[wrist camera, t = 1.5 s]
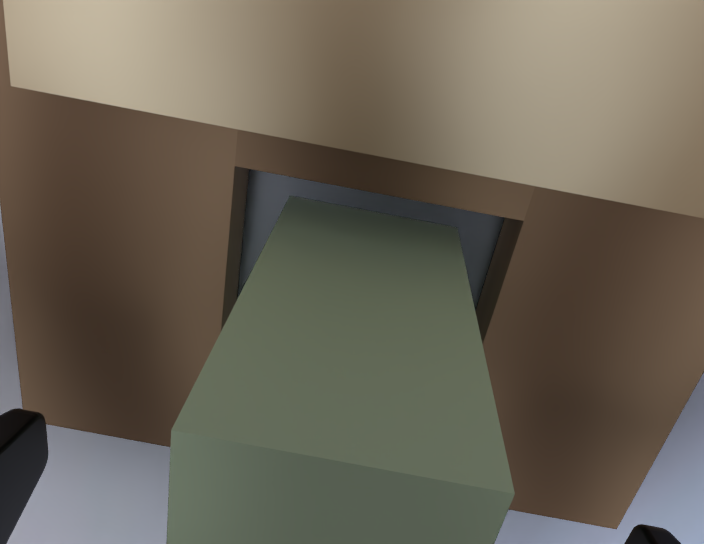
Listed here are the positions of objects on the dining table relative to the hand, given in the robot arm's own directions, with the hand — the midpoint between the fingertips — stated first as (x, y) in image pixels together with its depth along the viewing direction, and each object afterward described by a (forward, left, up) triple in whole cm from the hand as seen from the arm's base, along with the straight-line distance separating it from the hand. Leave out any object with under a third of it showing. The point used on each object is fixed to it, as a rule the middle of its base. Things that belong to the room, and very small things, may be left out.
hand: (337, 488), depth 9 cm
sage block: (0, 0, -7) cm, 7 cm away
